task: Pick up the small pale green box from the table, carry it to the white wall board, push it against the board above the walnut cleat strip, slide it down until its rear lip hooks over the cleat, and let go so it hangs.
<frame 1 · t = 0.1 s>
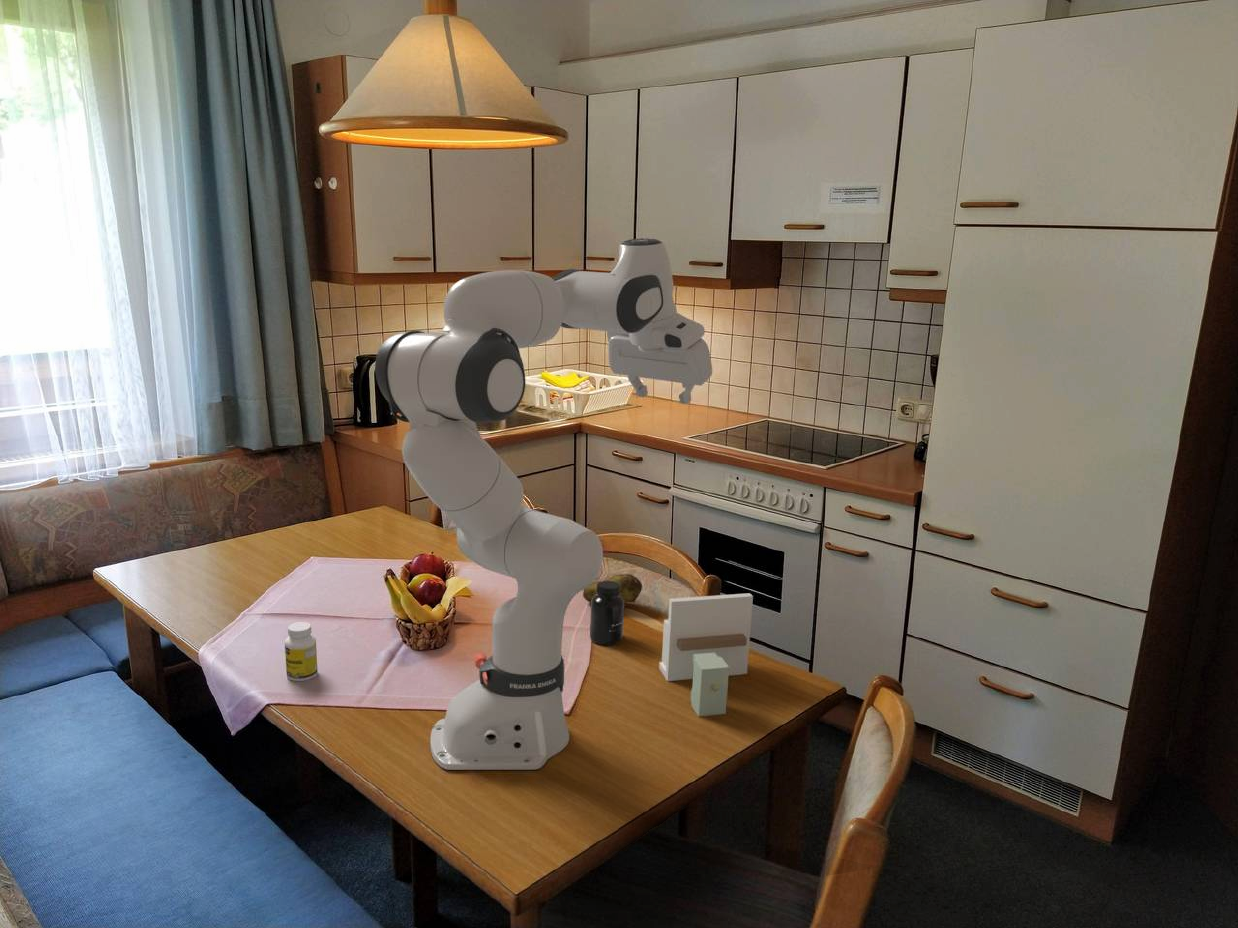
hand: (663, 399, 164), 52 cm above the table, tool tilted 20°, fingers open, 8 cm apart
potato: (612, 606, 202), on the table
supplement bottle: (606, 639, 185), on the table
pale green box: (708, 709, 159), on the table
wall board: (706, 675, 171), on the table
supplement bottle 2: (302, 676, 165), on the table
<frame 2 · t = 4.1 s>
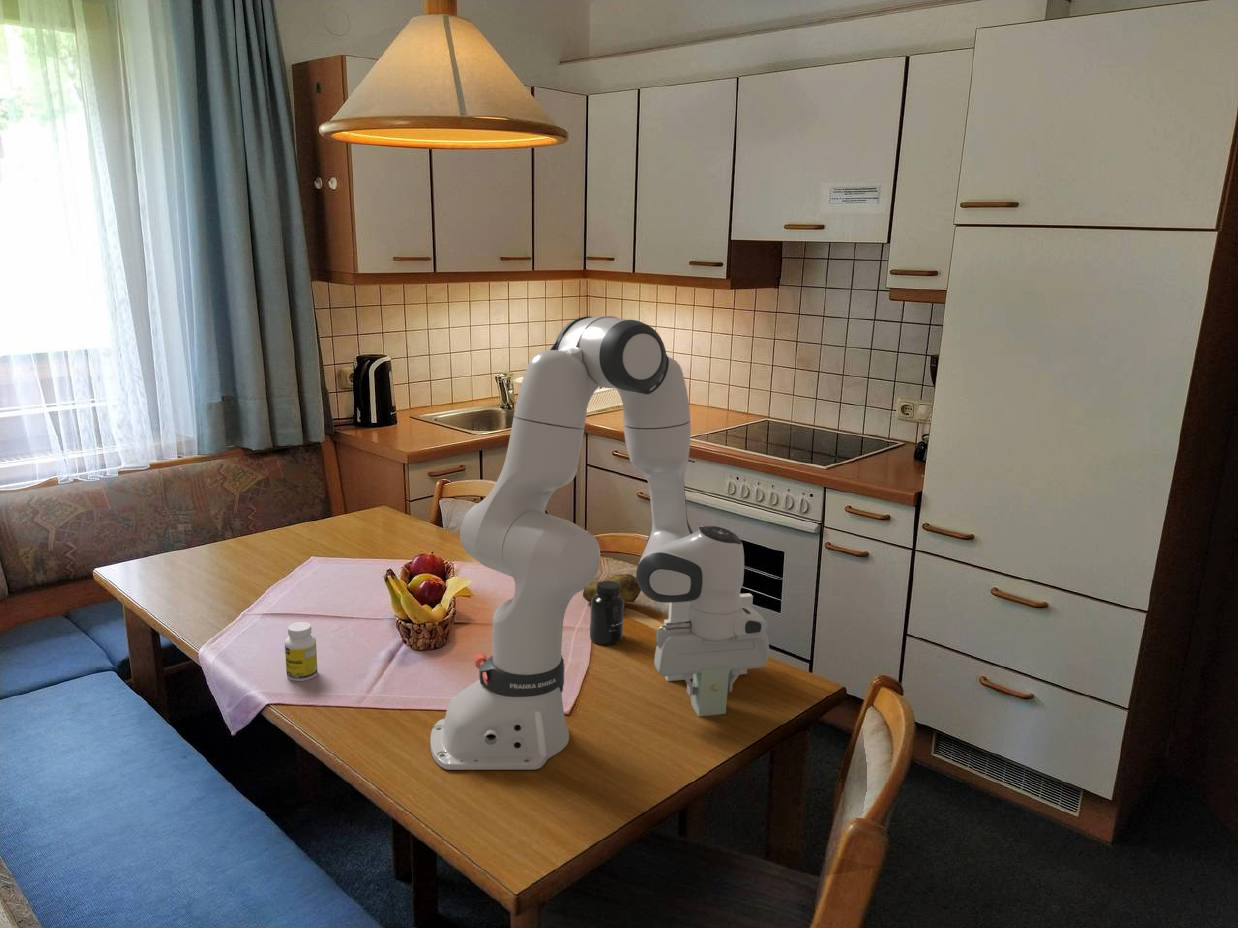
hand: (709, 692, 158), 3 cm above the table, tool pointing down, fingers closed on pale green box, 5 cm apart
pale green box: (708, 709, 159), on the table, touching gripper
everything else where it was.
when the fingers open (4 cm above the table, at t = 8.7 s): pale green box stays where it is, resting on wall board.
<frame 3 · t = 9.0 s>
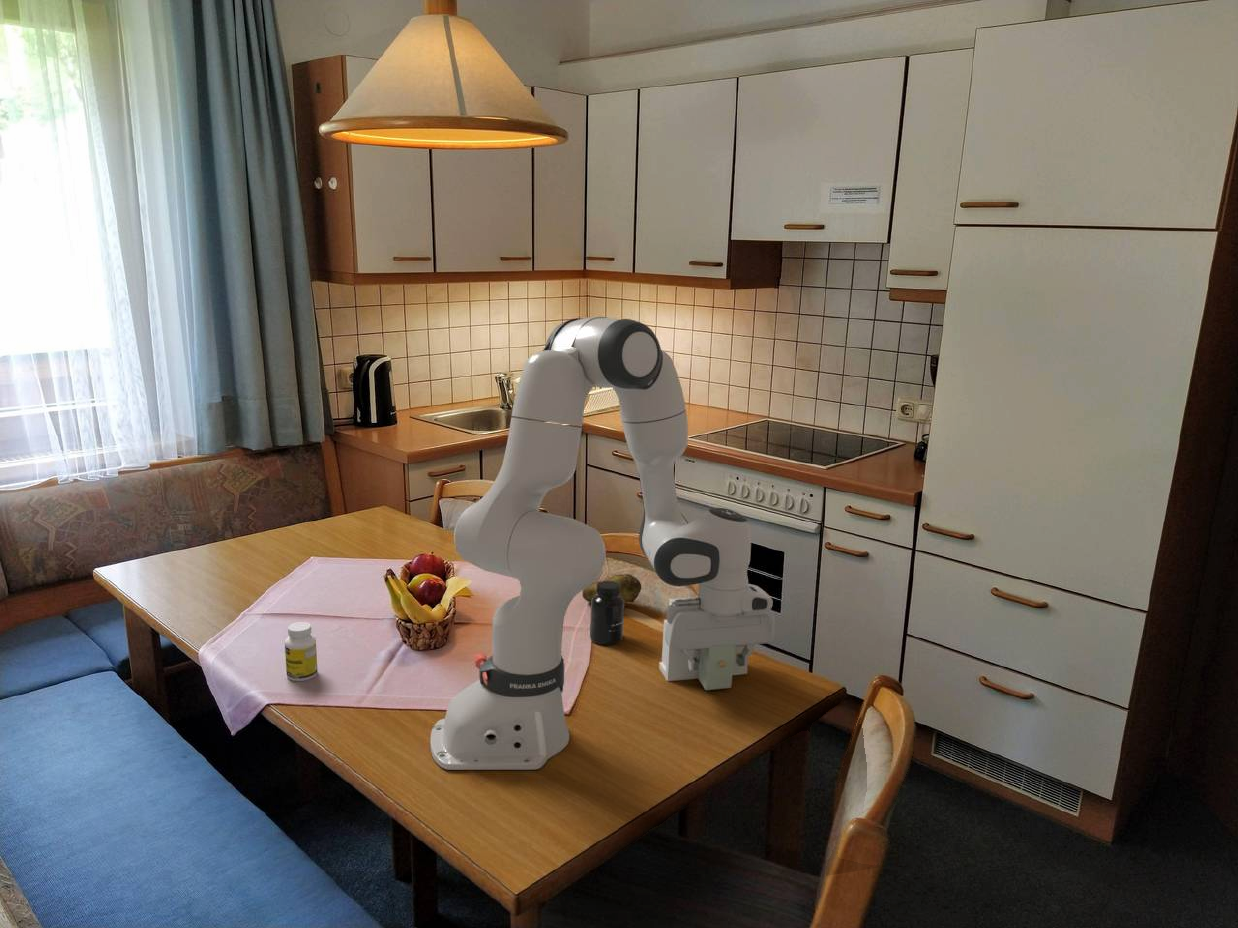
hand: (717, 666, 165), 4 cm above the table, tool pointing down, fingers open, 8 cm apart
pale green box: (714, 682, 166), point 1 cm above the table, touching wall board
everything else where it was.
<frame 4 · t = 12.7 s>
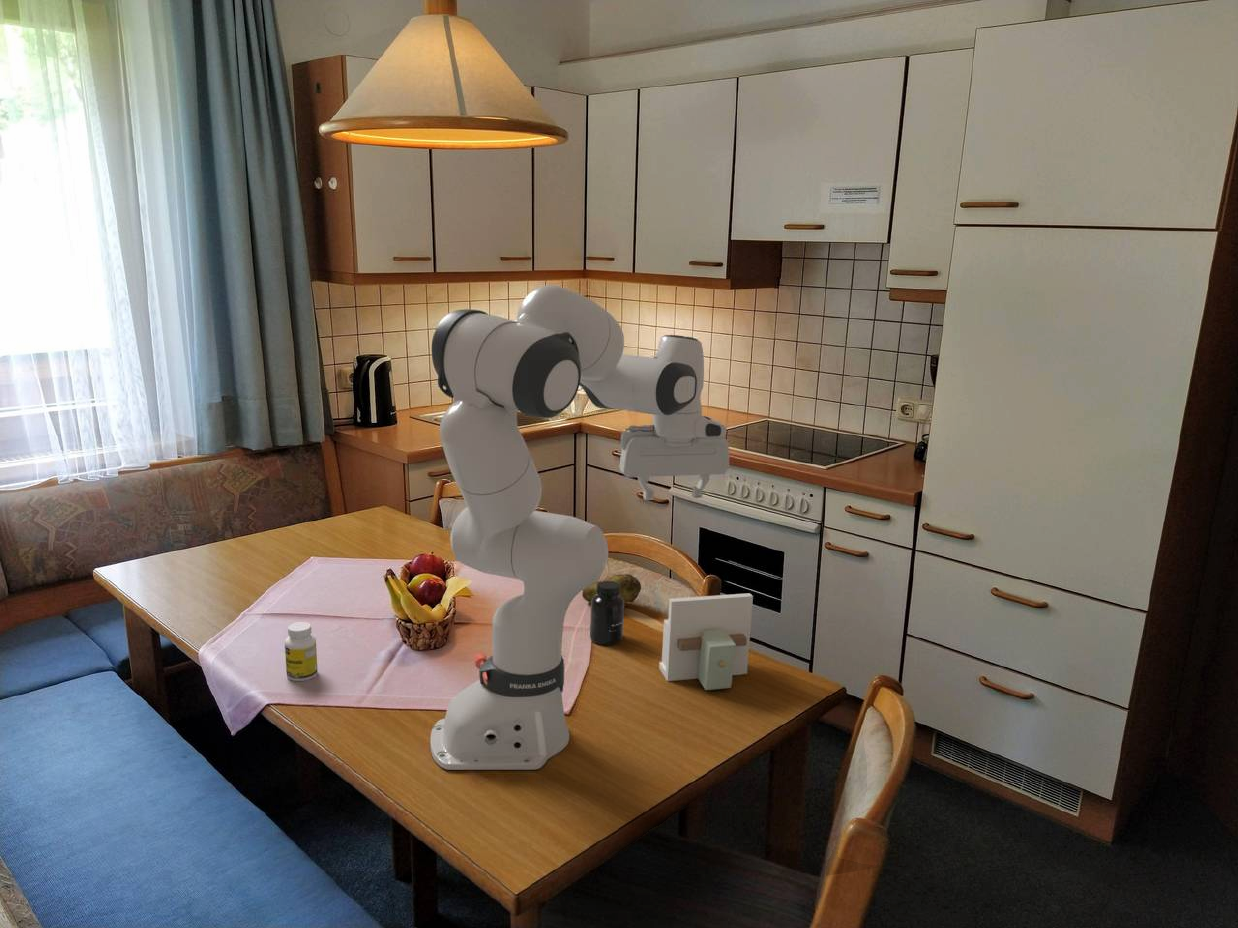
hand: (672, 498, 165), 34 cm above the table, tool pointing down, fingers open, 8 cm apart
nothing on the table moved.
at the end: pale green box 0.5 cm from the target spot, point 0.8 cm above the table; pale green box tilted 5°; pale green box touching wall board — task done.
